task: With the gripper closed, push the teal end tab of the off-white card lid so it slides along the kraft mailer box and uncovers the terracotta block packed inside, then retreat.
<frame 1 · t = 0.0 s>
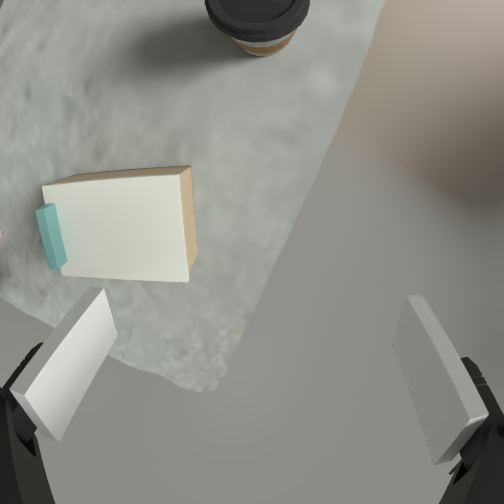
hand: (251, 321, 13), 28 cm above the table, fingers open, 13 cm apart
mailer box: (131, 212, 41), on the table
coffee cup: (263, 33, 31), on the table
lid: (105, 234, 34), point 8 cm above the table, slide at 0.0 cm
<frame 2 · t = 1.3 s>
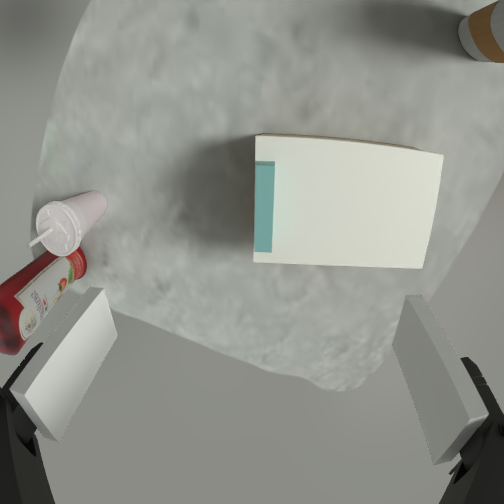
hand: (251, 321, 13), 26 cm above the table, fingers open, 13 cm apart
mailer box: (338, 188, 36), on the table
liquor: (73, 254, 43), on the table
coffee cup: (474, 39, 25), on the table
lid: (353, 210, 29), point 8 cm above the table, slide at 0.0 cm
smoothie: (96, 203, 39), on the table
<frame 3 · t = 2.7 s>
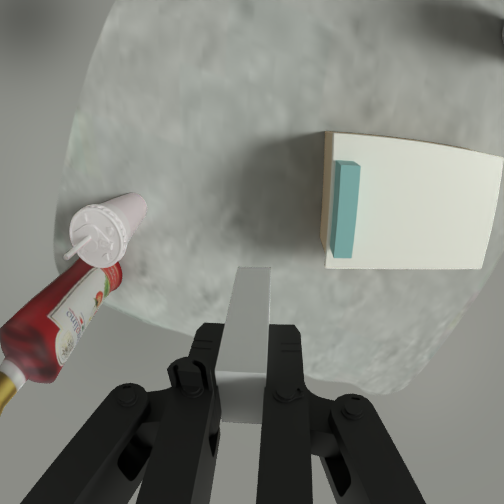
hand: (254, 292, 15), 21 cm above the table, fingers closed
mailer box: (398, 189, 33), on the table
liquor: (104, 264, 40), on the table
lid: (427, 212, 26), point 8 cm above the table, slide at 0.0 cm
smoothie: (134, 206, 37), on the table
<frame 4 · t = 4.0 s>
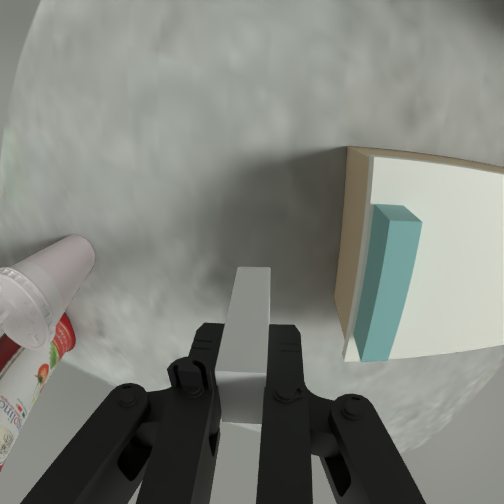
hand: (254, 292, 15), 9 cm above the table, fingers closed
mailer box: (445, 231, 22), on the table
liquor: (56, 318, 29), on the table
lid: (498, 281, 15), point 8 cm above the table, slide at 0.0 cm
smoothie: (79, 252, 26), on the table
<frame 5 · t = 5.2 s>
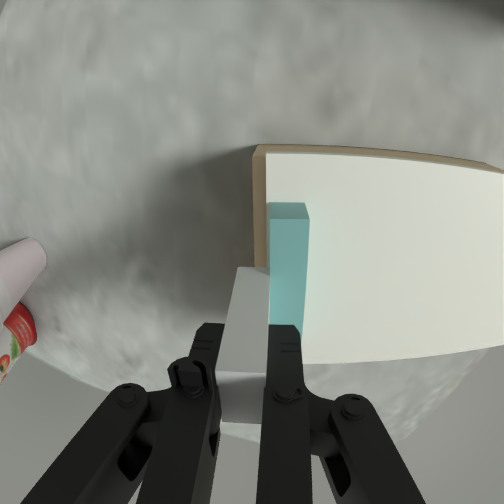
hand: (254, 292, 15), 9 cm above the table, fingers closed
mailer box: (379, 229, 23), on the table
liquor: (21, 314, 30), on the table
lid: (435, 283, 15), point 8 cm above the table, slide at 1.0 cm, touching gripper
smoothie: (34, 254, 26), on the table
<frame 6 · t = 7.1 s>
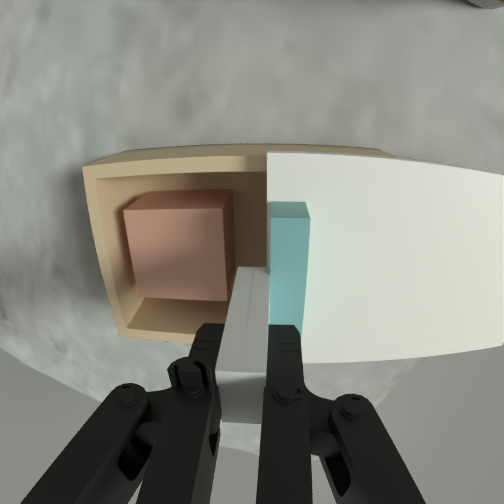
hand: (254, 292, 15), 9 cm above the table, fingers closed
mailer box: (248, 226, 23), on the table
lid: (435, 283, 15), point 8 cm above the table, slide at 10.8 cm, touching gripper
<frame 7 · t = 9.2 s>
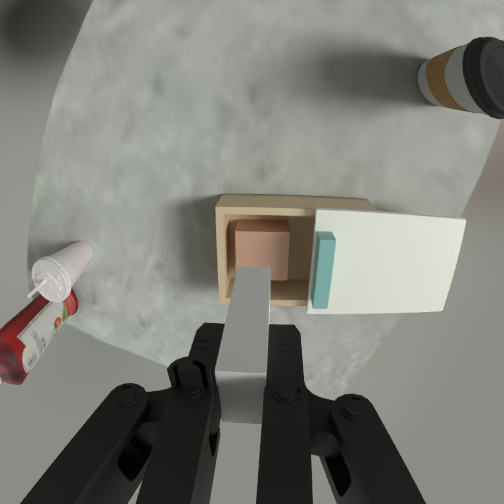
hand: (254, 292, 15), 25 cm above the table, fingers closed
mailer box: (294, 240, 41), on the table
liquor: (65, 293, 47), on the table
coffee cup: (435, 83, 31), on the table
lid: (393, 270, 33), point 8 cm above the table, slide at 10.8 cm
smoothie: (83, 251, 44), on the table
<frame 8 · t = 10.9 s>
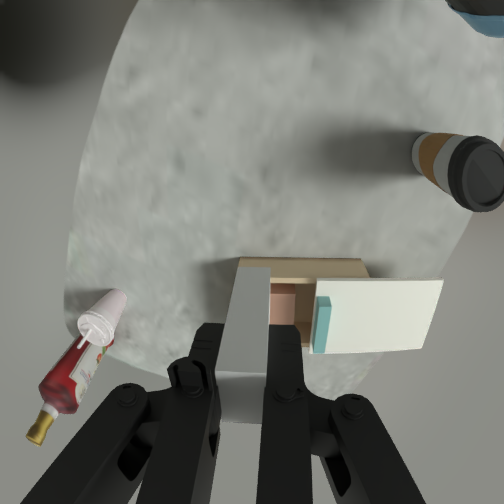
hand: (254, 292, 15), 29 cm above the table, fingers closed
mailer box: (299, 292, 49), on the table
liquor: (101, 329, 56), on the table
coffee cup: (428, 153, 39), on the table
lid: (378, 322, 41), point 8 cm above the table, slide at 10.8 cm
smoothie: (118, 297, 53), on the table
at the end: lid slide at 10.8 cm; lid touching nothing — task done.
